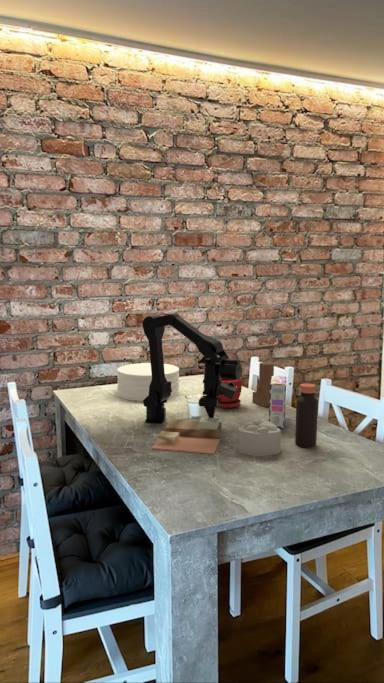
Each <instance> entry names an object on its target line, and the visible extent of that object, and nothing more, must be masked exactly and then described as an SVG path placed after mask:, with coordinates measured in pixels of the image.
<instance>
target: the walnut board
mask: <svg viewBox="0 0 384 683" xmlns="http://www.w3.org/2000/svg"><path fill="white" fill-rule="evenodd" d="M199 421H200V420H193V419H191V420H189V419H177V418H172V419H171V420H170V421H169V423H168V424H167V425H166V426H165V430H164V431H167V432H178V433H179V436H184V437H197V438H210V439H219V436H220V435H221V432H222V426H223V425H222V424H223V423H222V422H221V421H219V426H218V428H217V430H212V429H199Z"/></svg>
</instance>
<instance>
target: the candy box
mask: <svg viewBox="0 0 384 683" xmlns="http://www.w3.org/2000/svg"><path fill="white" fill-rule="evenodd" d="M286 397H287V376H281V375H274V376H272V378H271V383H270V401H269V406H268V407H269V409H268V422H271V423H272V424H275V425H276V427H277V428H279V429H285V424H286Z"/></svg>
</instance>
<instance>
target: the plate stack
mask: <svg viewBox="0 0 384 683" xmlns="http://www.w3.org/2000/svg"><path fill="white" fill-rule="evenodd" d="M116 371H117V376H116V377H117V395H119V396H118V397H119V398H121V397H122V399H124V398H125V400H128V399H129V400H128V401H135V400H137V401H136V402H143V400H144V399H145V398H146V397H147V396H148V395H149V386H150V383H151V380H152V373H151V362H140V363H130V364H126V365H122V366H121V365H120V366H119V367H118V368H117V369H116ZM164 372H165V378H166V380H167V381H168V382H169V381H171V389H172V392H171V396H170V397H169V398H168V399H167V400H170V399H173V398H175V396H176V397H177V396H179V394H180V389H179V388H180V368H179V367H178V366H177V365H174V364H170V363H164Z"/></svg>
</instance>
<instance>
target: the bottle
mask: <svg viewBox="0 0 384 683" xmlns="http://www.w3.org/2000/svg"><path fill="white" fill-rule="evenodd" d="M299 387H300V388H299V391H300V392H299V393H300V396H299V397H297V399H296V409H295V412H296V413H295V431H294V432H295V434H294V436H295V438H294V444H295V445H296V446H298V447H300V448H306V449H309V448H310V449H311V448H315V447H316V446H317V439H318V438H317V436H318V417H319V416H318V411H319V401H318V399H317V398H316V396H315V395H316V391H317V390H316V388H317V387H316V384H313V383H301V384H299Z"/></svg>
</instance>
